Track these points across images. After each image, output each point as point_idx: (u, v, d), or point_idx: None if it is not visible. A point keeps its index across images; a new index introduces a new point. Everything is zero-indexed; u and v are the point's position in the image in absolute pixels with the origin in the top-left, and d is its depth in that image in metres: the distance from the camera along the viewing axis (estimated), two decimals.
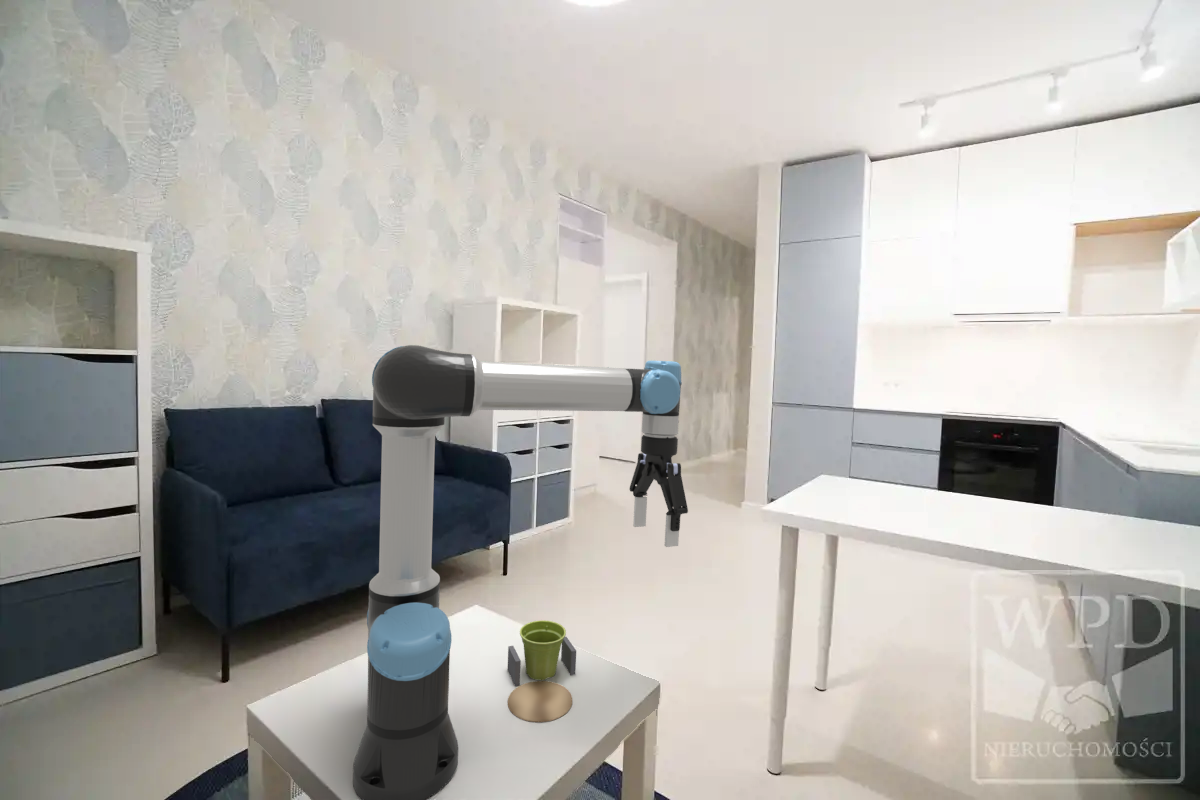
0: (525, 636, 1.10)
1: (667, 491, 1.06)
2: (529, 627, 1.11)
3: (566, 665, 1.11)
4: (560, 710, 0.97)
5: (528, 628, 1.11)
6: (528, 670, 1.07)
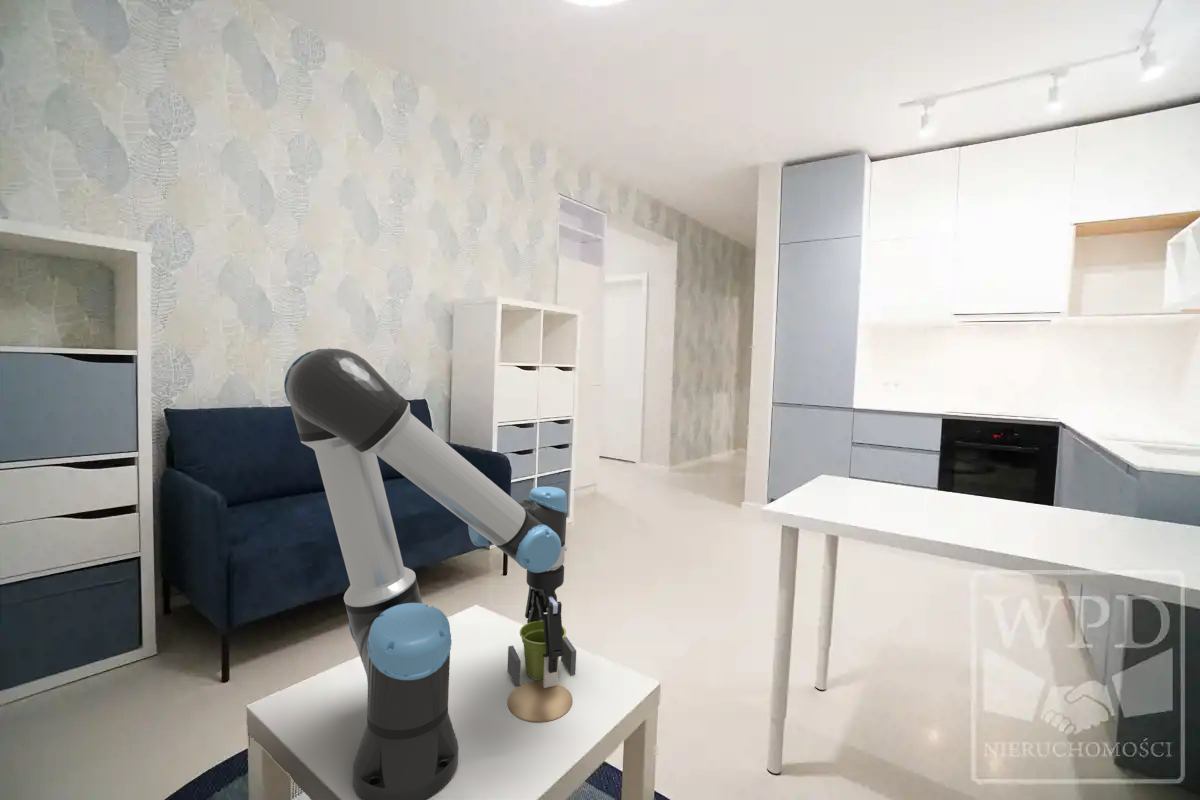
0: (525, 636, 1.10)
1: (547, 630, 1.03)
2: (529, 627, 1.11)
3: (566, 665, 1.11)
4: (560, 710, 0.97)
5: (528, 628, 1.11)
6: (528, 670, 1.07)
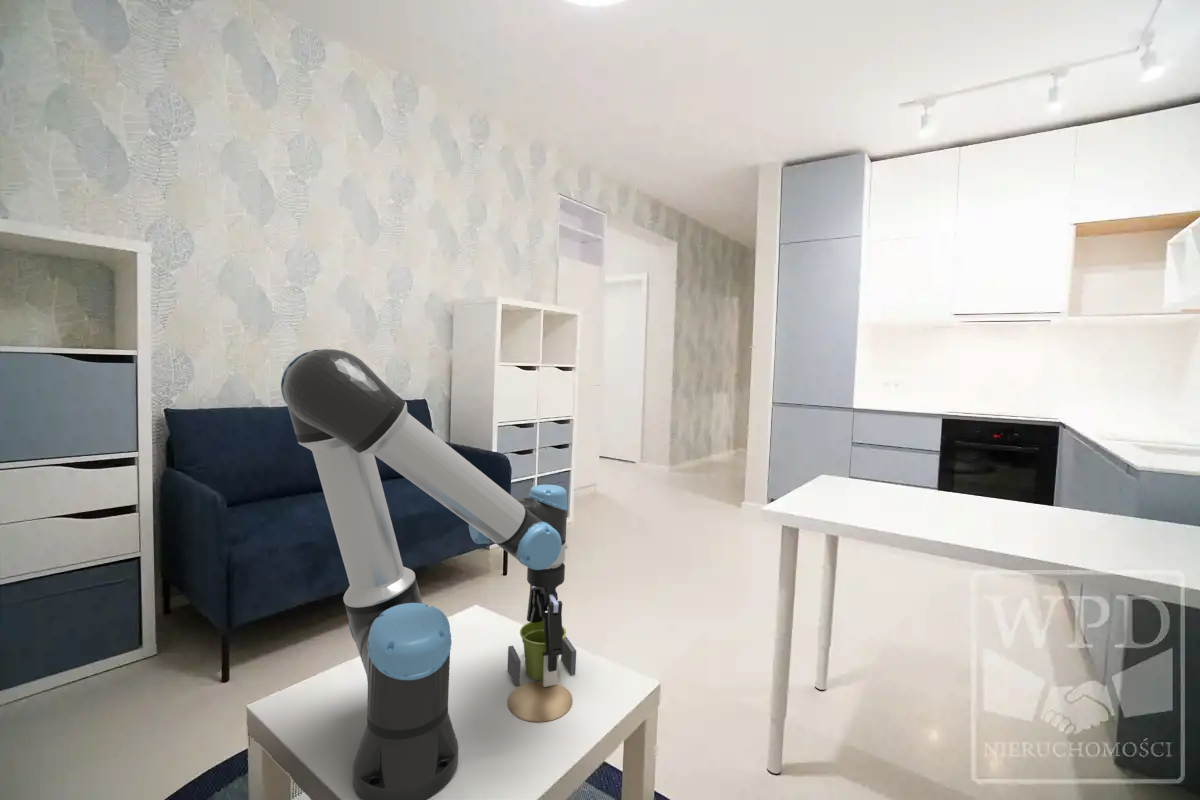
0: (525, 636, 1.10)
1: (547, 628, 1.03)
2: (529, 627, 1.11)
3: (566, 665, 1.11)
4: (560, 710, 0.97)
5: (528, 628, 1.11)
6: (528, 670, 1.07)
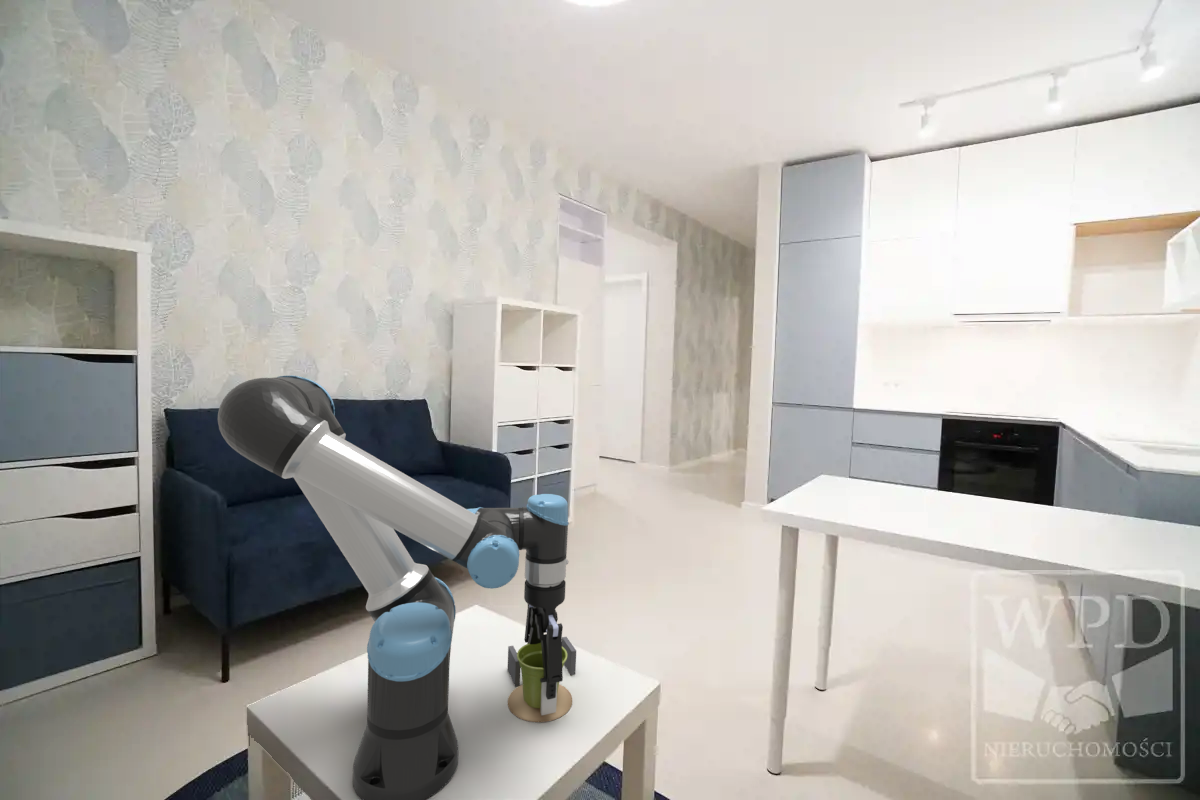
0: (523, 659, 1.01)
1: (545, 652, 0.95)
2: (527, 649, 1.02)
3: (566, 665, 1.11)
4: (560, 710, 0.97)
5: (526, 650, 1.02)
6: (526, 697, 0.97)
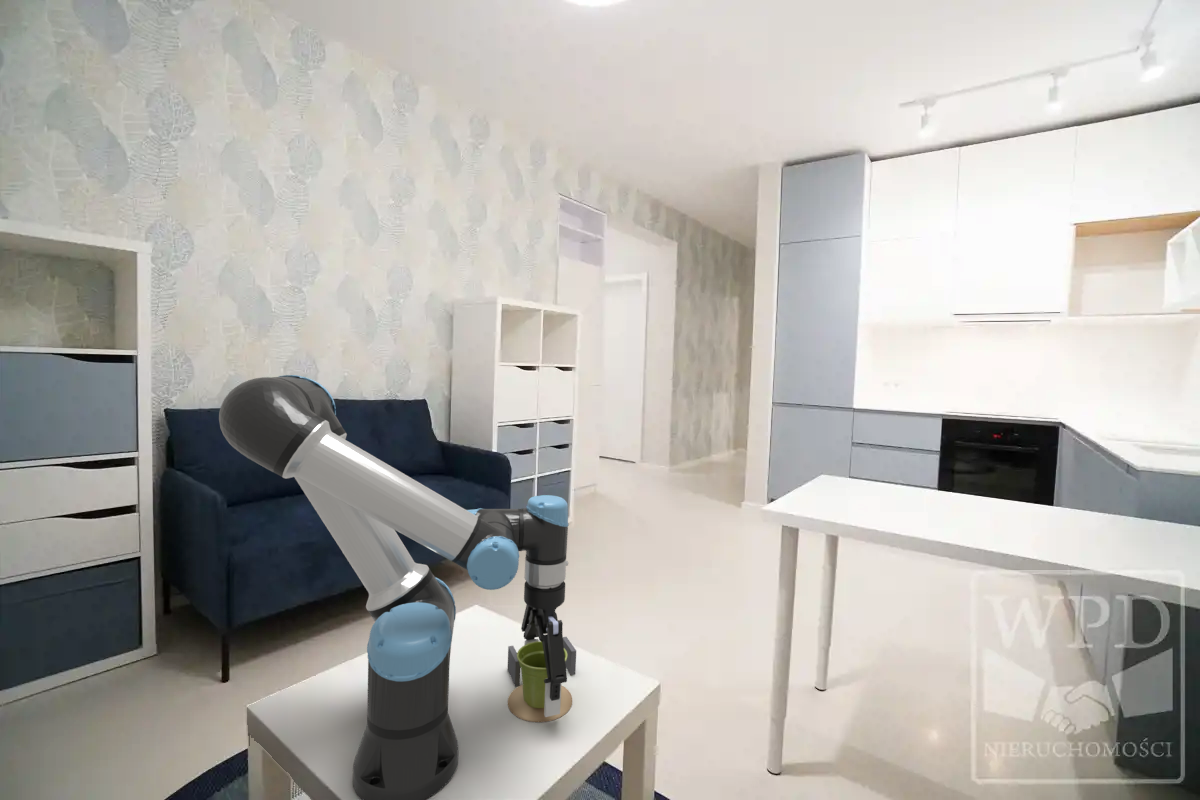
0: (523, 659, 1.01)
1: (547, 652, 0.93)
2: (527, 649, 1.02)
3: (566, 665, 1.11)
4: (560, 710, 0.97)
5: (526, 650, 1.02)
6: (526, 697, 0.97)
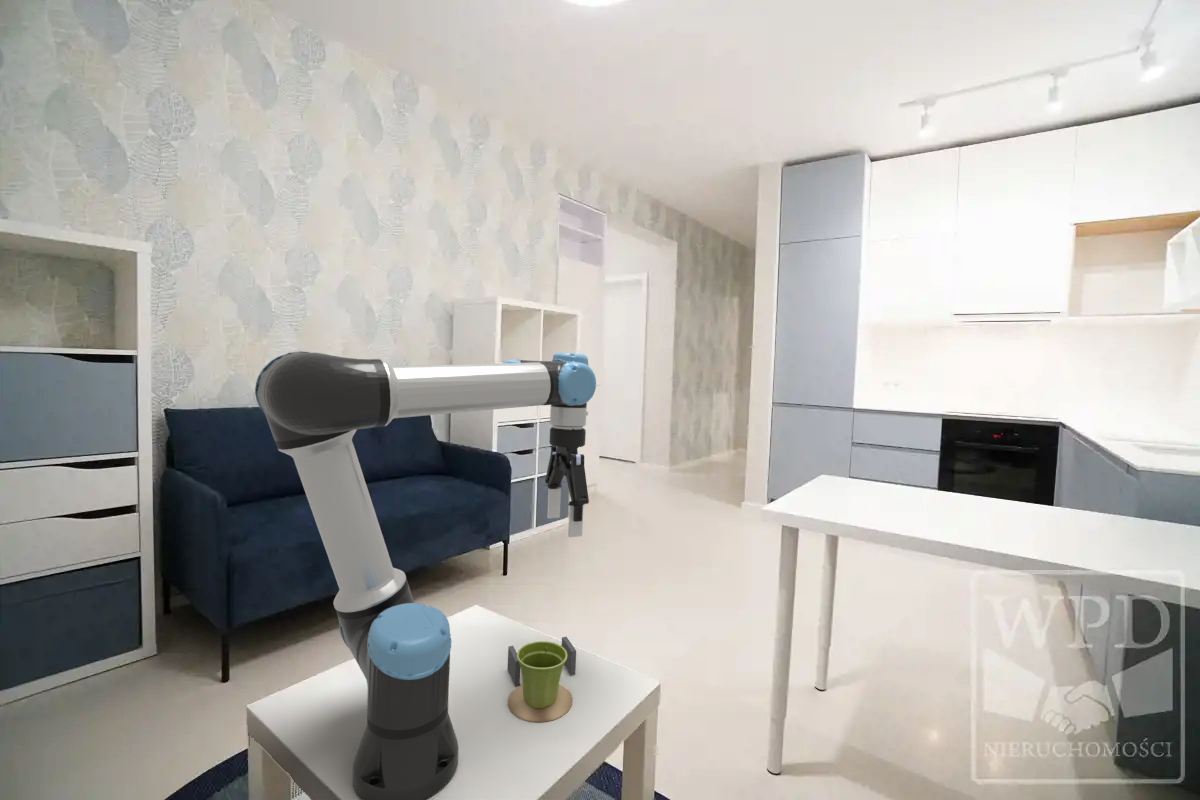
0: (523, 659, 1.01)
1: (571, 482, 1.07)
2: (527, 649, 1.02)
3: (566, 665, 1.11)
4: (560, 710, 0.97)
5: (526, 650, 1.02)
6: (526, 697, 0.97)
